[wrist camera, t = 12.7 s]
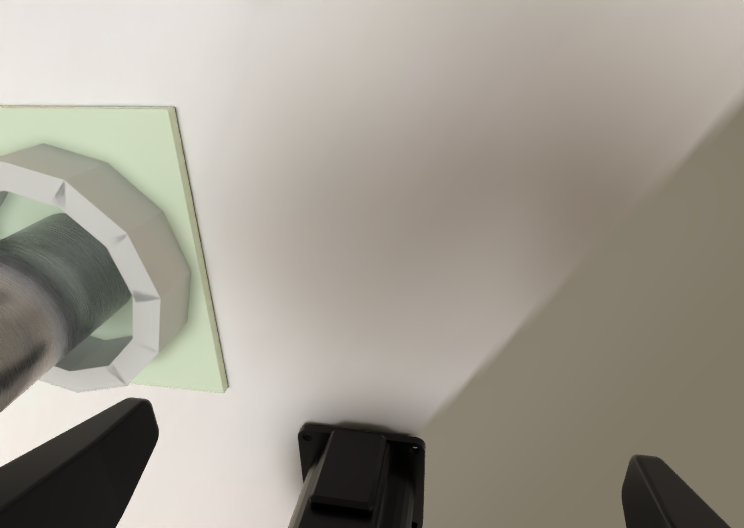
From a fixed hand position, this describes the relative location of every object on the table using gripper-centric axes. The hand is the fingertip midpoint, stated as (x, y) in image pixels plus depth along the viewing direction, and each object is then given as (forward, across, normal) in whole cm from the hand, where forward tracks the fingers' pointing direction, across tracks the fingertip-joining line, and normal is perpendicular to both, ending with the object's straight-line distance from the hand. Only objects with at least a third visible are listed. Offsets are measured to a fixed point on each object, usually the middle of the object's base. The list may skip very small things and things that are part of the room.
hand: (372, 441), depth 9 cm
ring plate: (+12, +16, +3) cm, 20 cm away
